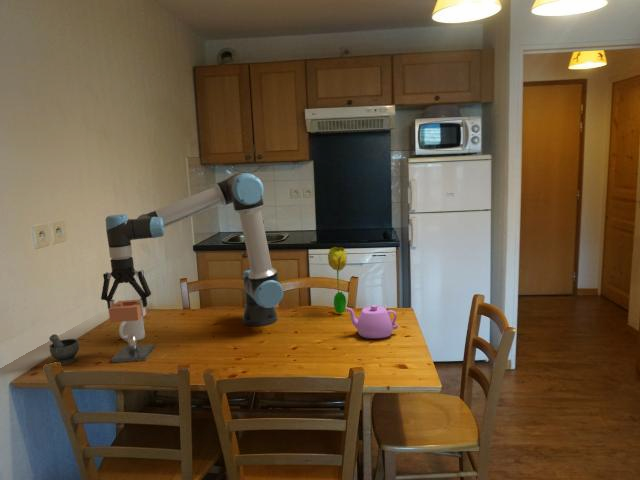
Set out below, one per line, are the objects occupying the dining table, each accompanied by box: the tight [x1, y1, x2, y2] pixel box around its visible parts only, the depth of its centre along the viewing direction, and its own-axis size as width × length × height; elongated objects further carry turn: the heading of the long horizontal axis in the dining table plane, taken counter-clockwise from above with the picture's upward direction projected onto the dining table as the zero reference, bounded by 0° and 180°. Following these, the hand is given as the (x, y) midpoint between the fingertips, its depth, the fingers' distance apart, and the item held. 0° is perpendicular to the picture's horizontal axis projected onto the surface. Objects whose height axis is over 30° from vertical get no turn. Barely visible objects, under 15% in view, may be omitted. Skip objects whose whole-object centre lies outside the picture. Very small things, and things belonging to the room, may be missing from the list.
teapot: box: [345, 304, 399, 340], centre depth 186 cm, size 20×13×12 cm, turn 84°
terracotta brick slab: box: [108, 299, 148, 323], centre depth 178 cm, size 10×10×5 cm
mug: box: [118, 316, 146, 343], centre depth 196 cm, size 12×8×10 cm
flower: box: [327, 246, 348, 315], centre depth 211 cm, size 9×8×30 cm
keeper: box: [110, 335, 156, 364], centre depth 180 cm, size 12×12×8 cm
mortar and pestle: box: [48, 333, 80, 366], centre depth 177 cm, size 11×9×12 cm
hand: (129, 316), depth 178 cm, fingers closed on terracotta brick slab, 10 cm apart
